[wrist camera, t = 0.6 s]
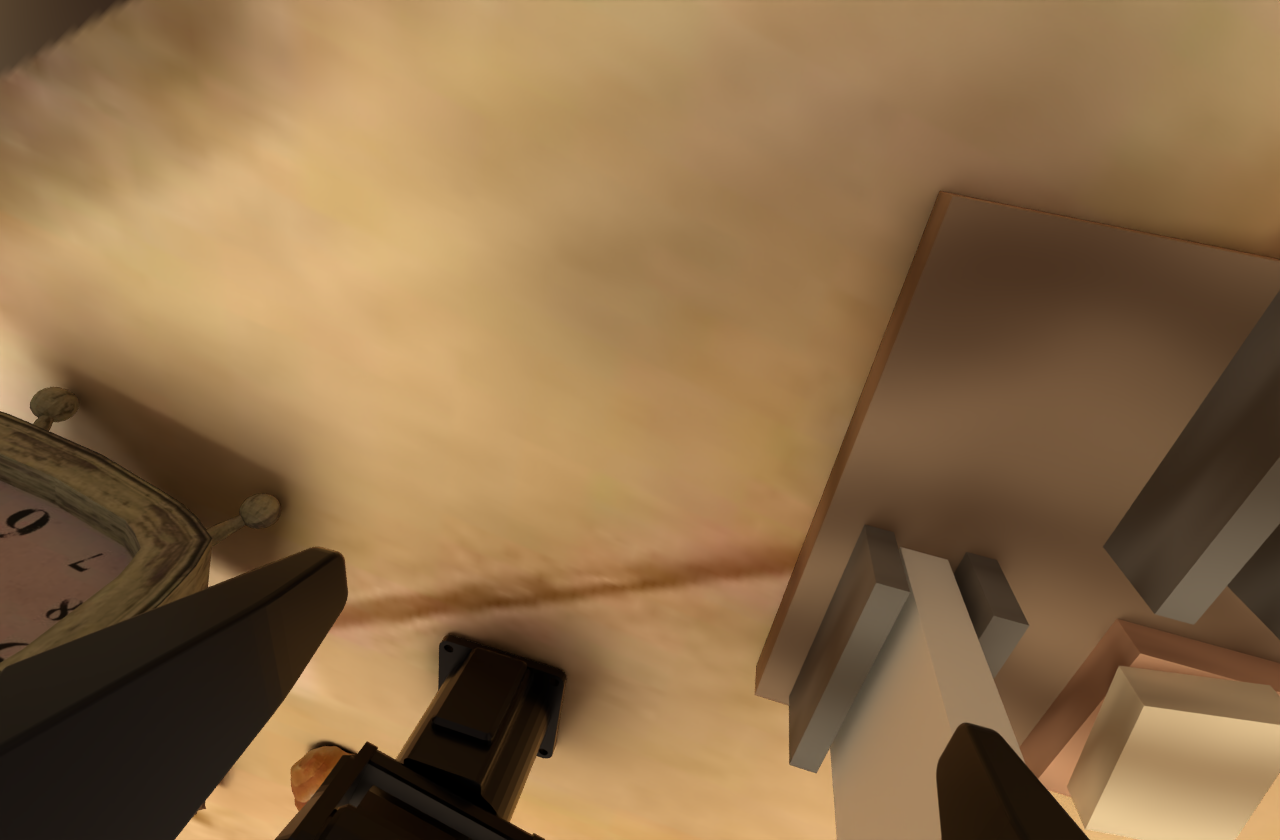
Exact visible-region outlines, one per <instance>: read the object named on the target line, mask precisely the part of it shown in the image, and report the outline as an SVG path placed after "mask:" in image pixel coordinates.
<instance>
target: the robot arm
mask: <svg viewBox="0 0 1280 840" xmlns="http://www.w3.org/2000/svg"><path fill="white" fill-rule="evenodd" d="M347 596H348V588H347V578H346V568H345V560H344V557H343V555H342V554H341V553H340V552H337V551H334V550H330V549H326V548H323V547H312V548H309V549H306V550H304V551H301V552H298V553H296V554H293V555H291V556H288V557H286V558H283V559H280V560H278V561H275V562H273V563H270V564H268V565H265V566H262V567H260V568H257V569H255V570H252V571H250V572H247V573H244V574H242V575H239V576H237V577H234V578H232V579H229V580H226V581H224V582H221V583H219V584H216V585H213V586H211V587H208V588H206V589H203V590H201V591H198V592H195V593H193V594H190V595H188V596H185V597H183V598H180V599H177V600H175V601H172V602H170V603H167V604H165V605H162V606H159V607H157V608H154V609H152V610H149V611H147V612H144V613H141V614H139V615H136V616H134V617H131V618H129V619H126V620H123V621H121V622H118V623H116V624H113V625H111V626H108V627H105V628H103V629H100V630H98V631H95V632H93V633H90V634H87V635H85V636H82V637H80V638H77V639H75V640H72V641H69V642H67V643H64V644H62V645H59V646H56V647H54V648H51V649H49V650H46V651H44V652H41V653H38V654H36V655H33V656H31V657H28V658H26V659H23V660H20V661H18V662H15V663H13V664H10V665H8V666H6V667H5V668H4V669H3V670H2V671H1V670H0V840H175V839H176V837H177V836H178V835H179V833H180V832H181V831H182V830H183V828H184V827H185V826H186V825H187V823H188V822H189V821H190V820H191V818H192V817H193V816H194V814H195V813H196V812H197V811H198V809H199V808H200V807H201V806H202V804H203V803H204V802H205V800H206V799H207V798H208V797H209V795H210V794H211V793H212V792H213V790H214V789H215V788H216V786H217V785H218V784H219V783H220V781H221V780H222V779H223V778H224V776H225V775H226V774H227V772H228V771H229V770H230V769H231V767H232V766H233V765H234V764H235V762H236V761H237V760H238V759H239V757H240V756H241V755H242V753H243V752H244V751H245V750H246V748H247V747H248V746H249V745H250V743H251V742H252V741H253V739H254V738H255V737H256V736H257V734H258V733H259V732H260V731H261V729H262V728H263V727H264V725H265V724H266V723H267V722H268V720H269V719H270V718H271V717H272V715H273V714H274V713H275V711H276V710H277V709H278V707H279V706H280V705H281V703H282V702H283V701H284V699H285V698H286V696H287V695H288V693H289V692H290V690H291V689H292V688H293V686H294V685H295V683H296V681H297V680H298V678H299V677H300V675H301V674H302V672H303V671H304V669H305V668H306V666H307V664H308V663H309V661H310V660H311V658H312V657H313V655H314V654H315V652H316V650H317V649H318V647H319V646H320V644H321V643H322V641H323V640H324V638H325V637H326V635H327V633H328V632H329V630H330V629H331V627H332V626H333V624H334V623H335V621H336V619H337V618H338V616H339V615H340V613H341V612H342V610H343V608H344V606H345V604H346V601H347ZM566 680H567V677H566V674H565V673H564V672H563V671H562V670H560V669H558V668H554V667H551V666H548V665H545V664H542V663H539V662H535V661H532V660H529V659H526V658H523V657H520V656H516V655H513V654H510V653H507V652H504V651H501V650H497V649H494V648H491V647H488V646H485V645H482V644H478V643H475V642H472V641H469V640H466V639H462V638H459V637H456V636H453V635H446V636H445V637H444V638H443V640H442V641H441V643H440V645H439V688H438V692H437V694H436V695H435V697H434V699H433V700H432V702H431V703H430V705H429V707H428V708H427V710H426V712H425V713H424V715H423V716H422V718H421V720H420V721H419V723H418V724H417V726H416V728H415V729H414V731H413V732H412V734H411V736H410V737H409V739H408V740H407V742H406V744H405V745H404V747H403V748H402V750H401V752H400V753H399V755H398V756H397V758H396V760H395V759H393V758H391V757H390V756H388V755H386V754H384V753H382V752H381V751H379V750H377V749H378V747H377V746H375V745H373V744H371V743H369V742H368V741H367V742H366V743H365V745H364V746H363V747H362V749H361V750H360V751H359V753H358V754H356V755H342V757H341V758H340V759H339V761H338V762H337V764H336V765H335V766H334V768H333V769H332V771H331V772H330V773H329V775H328V776H327V778H326V779H325V780H324V782H323V783H322V784H321V786H320V787H319V788H318V790H317V791H316V792H315V794H314V795H313V796H312V797H311V798H310V800H309V801H308V802H307V803H306V804H305V805H304V807H303V808H302V809H301V810H300V811H299V812H298V813H297V815H296V816H295V817H294V818H293V819H292V820H291V821H290V823H289V824H288V825H287V826H286V827H285V828H284V829H283V831H282V832H281V833H280V834H279V835H278V836H277V837H276V839H275V840H545V839H544V838H542V837H540V836H538V835H537V834H535V833H533V835H531V834H530V833H528V832H526V831H524V830H522V829H520V828H519V827H517V826H515V825H513V824H511V823H510V820H511V818H512V815H513V813H514V810H515V808H516V805H517V803H518V800H519V798H520V795H521V793H522V790H523V788H524V785H525V783H526V780H527V778H528V775H529V773H530V770H531V768H532V765H533V763H534V760H535V758H536V756H539V757H542V758H550V757H552V754H553V752H554V749H555V745H556V739H557V733H558V727H559V721H560V715H561V709H562V703H563V697H564V692H565V686H566ZM936 784H937V795H938V806H939V817H940V829H941V840H1090V839H1089V838H1088V837H1087V836H1086V835H1085V833H1084V832H1083V831H1082V830H1081V829H1080V828H1079V826H1078V825H1077V824H1076V823H1075V822H1074V821H1073V819H1072V818H1071V817H1070V816H1069V815H1068V813H1067V812H1066V811H1065V810H1064V809H1063V808H1062V806H1061V805H1060V804H1059V803H1058V802H1057V801H1056V799H1055V798H1054V797H1053V796H1052V795H1051V793H1050V792H1049V791H1048V790H1047V789H1046V788H1045V786H1044V785H1043V784H1042V783H1041V782H1040V781H1039V779H1038V778H1037V777H1036V776H1035V775H1034V773H1033V772H1032V771H1031V770H1030V769H1029V768H1028V766H1027V765H1026V764H1025V763H1024V762H1023V761H1022V759H1021V758H1020V757H1019V756H1018V755H1017V753H1016V752H1015V751H1014V750H1013V749H1012V748H1011V746H1010V745H1009V744H1008V743H1007V742H1006V740H1005V739H1004V738H1003V737H1002V736H1001V735H1000V734H999V733H998V732H996V731H995V730H993V729H990V728H986V727H983V726H979V725H975V724H972V723H967V722H964V723H962V724H960V725H959V726H958V727H957V728H956V730H955V732H954V734H953V735H952V737H951V739H950V741H949V742H948V744H947V746H946V747H945V749H944V751H943V753H942V754H941V756H940V758H939V760H938V764H937V769H936Z"/></svg>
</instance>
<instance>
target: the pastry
mask: <svg viewBox="0 0 1280 840" xmlns="http://www.w3.org/2000/svg"><path fill="white" fill-rule="evenodd" d="M342 755H355V754H349V753H346V752H344V751H343V750H341V749H340V748H338V747H336V746H322V747H320V748H317V749H313V750H310V751H309V752H308V753H307V754H306V755H305V756H304V757H303V758H301V759H300V760H299V761H298V762H296V763H295V764H294V765H293V766H292V768H291V787H292V792H293V794H294V797H295V806H296V807H297V809H298V811H300V810H301V809H302V808H303V807H304V805H305V804H306V803H307V802H308V801H309V800H310V798H311V797H312V796H313V795H314V794H315V792H316V791H317V790H318V788H319V787H320V786H321V784H322V783H323V782H324V780H325V779H326V778H327V776H328V775H329V773H330V772H331V771H332V769H333V768H334V766H335V765H336V764H337V762H338V761H339V759H340V758H341V757H342Z"/></svg>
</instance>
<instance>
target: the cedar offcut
mask: <svg viewBox="0 0 1280 840" xmlns="http://www.w3.org/2000/svg"><path fill="white" fill-rule="evenodd" d="M1119 666H1126V667H1134V668H1141V669H1149V670H1156V671H1164V672H1172V673H1179V674H1187V675H1195V676H1202V677H1210V678H1218V679H1225V680H1233V681H1240V682H1248V683H1256V684H1263V685H1270V686H1271V687H1272V688H1273V689H1274V690H1275V691H1276V693H1277V694H1278V695H1279V696H1280V663H1277V662H1273V661H1270V660H1266V659H1262V658H1259V657H1255V656H1251V655H1248V654H1244V653H1240V652H1237V651H1233V650H1229V649H1226V648H1222V647H1218V646H1215V645H1211V644H1207V643H1204V642H1200V641H1196V640H1193V639H1189V638H1186V637H1182V636H1178V635H1175V634H1171V633H1167V632H1164V631H1160V630H1156V629H1153V628H1149V627H1145V626H1142V625H1138V624H1134V623H1131V622H1127V621H1123V620H1120V619H1116V620H1115V622H1114V623H1113V624H1112V626H1111V627H1110V628H1109V629H1108V631H1107V632H1106V633H1105V635H1104V636H1103V637H1102V639H1101V640H1100V641H1099V643H1098V644H1097V645H1096V647H1095V648H1094V649H1093V651H1092V652H1091V653H1090V655H1089V656H1088V657H1087V659H1086V660H1085V661H1084V662H1083V664H1082V665H1081V666H1080V668H1079V669H1078V670H1077V672H1076V673H1075V674H1074V676H1073V677H1072V678H1071V680H1070V681H1069V682H1068V684H1067V685H1066V686H1065V688H1064V689H1063V690H1062V691H1061V693H1060V694H1059V695H1058V697H1057V698H1056V699H1055V701H1054V702H1053V703H1052V705H1051V706H1050V707H1049V709H1048V710H1047V711H1046V713H1045V714H1044V715H1043V717H1042V718H1041V719H1040V721H1039V722H1038V723H1037V724H1036V726H1035V727H1034V728H1033V730H1032V731H1031V732H1030V734H1029V735H1028V736H1027V738H1026V739H1025V740H1024V742H1023V743H1022V744H1021V746H1020V747H1019V748H1020V751H1021V753H1022V756H1023V758H1024V761H1025V764H1026V765H1027V766H1028V768H1029V769H1030V770H1031V771H1032V772H1033V773H1034V775H1035V776H1036V777H1037V778H1038V779H1039V781H1040V782H1041V783H1042V784H1043V785H1044V786H1045V788H1046V789H1047V790H1050V791H1053V792H1056V793H1060V794H1063V795H1066V796H1069V797H1071V795H1070V793H1069V791H1068V788H1067V785H1068V783H1069V780H1070V778H1071V776H1072V773H1073V771H1074V769H1075V766H1076V764H1077V762H1078V759H1079V757H1080V755H1081V752H1082V750H1083V748H1084V745H1085V743H1086V741H1087V739H1088V736H1089V734H1090V732H1091V729H1092V727H1093V725H1094V722H1095V720H1096V718H1097V715H1098V713H1099V711H1100V708H1101V706H1102V704H1103V701H1104V699H1105V697H1106V694H1107V692H1108V690H1109V687H1110V685H1111V683H1112V680H1113V678H1114V676H1115V673H1116V671H1117V669H1118V667H1119Z"/></svg>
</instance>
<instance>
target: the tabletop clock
mask: <svg viewBox="0 0 1280 840" xmlns="http://www.w3.org/2000/svg"><path fill="white" fill-rule="evenodd" d="M78 407H79V401H78V399H77V397H76V396H75V395H74V394H73V393H72V392H70V391H69V390H66V389H63V388H59V387H50V388H45V389H43V390H41V391H39V392H37V393H36V394H35V395H34V396H33V398H32V400H31V402H30V409H31V411H32V413H33V414H34V415H35V416H37V417H38V419H37V420H36V421H35V422H34V424H31V423H29V422H27V421H24V420H22V419H19V418H17V417H14V416H12V415H9V414H7V413H4V412H1V411H0V670H1V671H2V670H3V669H4V668H5V667H6V666H8V665H10V664H13V663H15V662H18V661H20V660H23V659H26V658H28V657H31V656H33V655H36V654H38V653H41V652H44V651H46V650H49V649H51V648H54V647H56V646H59V645H62V644H64V643H67V642H69V641H72V640H75V639H77V638H80V637H82V636H85V635H87V634H90V633H93V632H95V631H98V630H100V629H103V628H105V627H108V626H111V625H113V624H116V623H118V622H121V621H123V620H126V619H129V618H131V617H134V616H136V615H139V614H141V613H144V612H147V611H149V610H152V609H154V608H157V607H159V606H162V605H165V604H167V603H170V602H172V601H175V600H177V599H180V598H183V597H185V596H188V595H190V594H193V593H195V592H198V591H201V590H203V589H206V588H208V580H209V569H210V559H211V548H212V546H213V545H215V544H217V543H218V542H220V541H221V540H223V539H224V538H226V537H227V536H229V535H231V534H232V533H234V532H235V531H237V530H238V529H240V528H241V527H243V526H244V525H247V526H249V527H251V528H256V529H259V528H265V527H268V526H270V525H272V524H273V523H275V522H276V521H277V520H278V518H279V517H280V513H281V506H280V503H279V502H278V500H277V499H276V498H275V497H274V496H272V495H270V494H265V493H262V494H256V495H253V496H251V497H249V498H247V499H246V500H245V501H244V502H243V503H242V505H241V507H240V511H239V512H240V515H239V516H236V517H234V518H232V519H229V520H227V521H225V522H222V523H220V524H218V525H215V526H213V527H211V528H208V529H205V528H204V526H203V525H202V523H201V522H200V521H199V519H198V518H197V517H196V516H195V515H194V514H193V513H192V512H191V511H189V510H188V509H187V508H186V507H185V506H184V505H183V504H181V503H180V502H178V501H177V500H175V499H174V498H172V497H171V496H169V495H168V494H166V493H165V492H163V491H161V490H160V489H158V488H156V487H155V486H153V485H151V484H150V483H148V482H146V481H145V480H143V479H141V478H140V477H138V476H136V475H135V474H133V473H131V472H130V471H128V470H126V469H125V468H123V467H122V466H120V465H118V464H117V463H115V462H113V461H112V460H110V459H108V458H107V457H105V456H103V455H101V454H99V453H97V452H95V451H92V450H90V449H88V448H86V447H83V446H81V445H79V444H77V443H74V442H72V441H70V440H67V439H65V438H63V437H61V436H58V435H56V434H54V433H52V432H49V430H50V428H51V426H52V424H53V422H61V421H65V420H67V419H69V418H71V417H72V416H73V415H74V414H75V413H76V412H77V410H78Z"/></svg>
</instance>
